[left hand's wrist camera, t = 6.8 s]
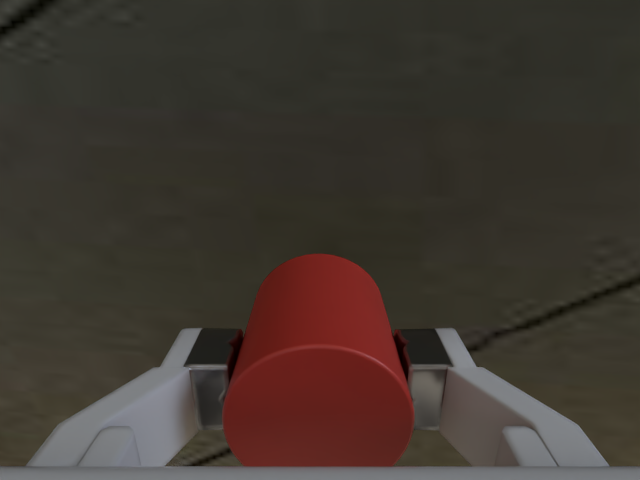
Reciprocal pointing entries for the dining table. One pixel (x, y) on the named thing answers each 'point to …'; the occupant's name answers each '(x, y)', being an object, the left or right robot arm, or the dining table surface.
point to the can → (318, 372)
